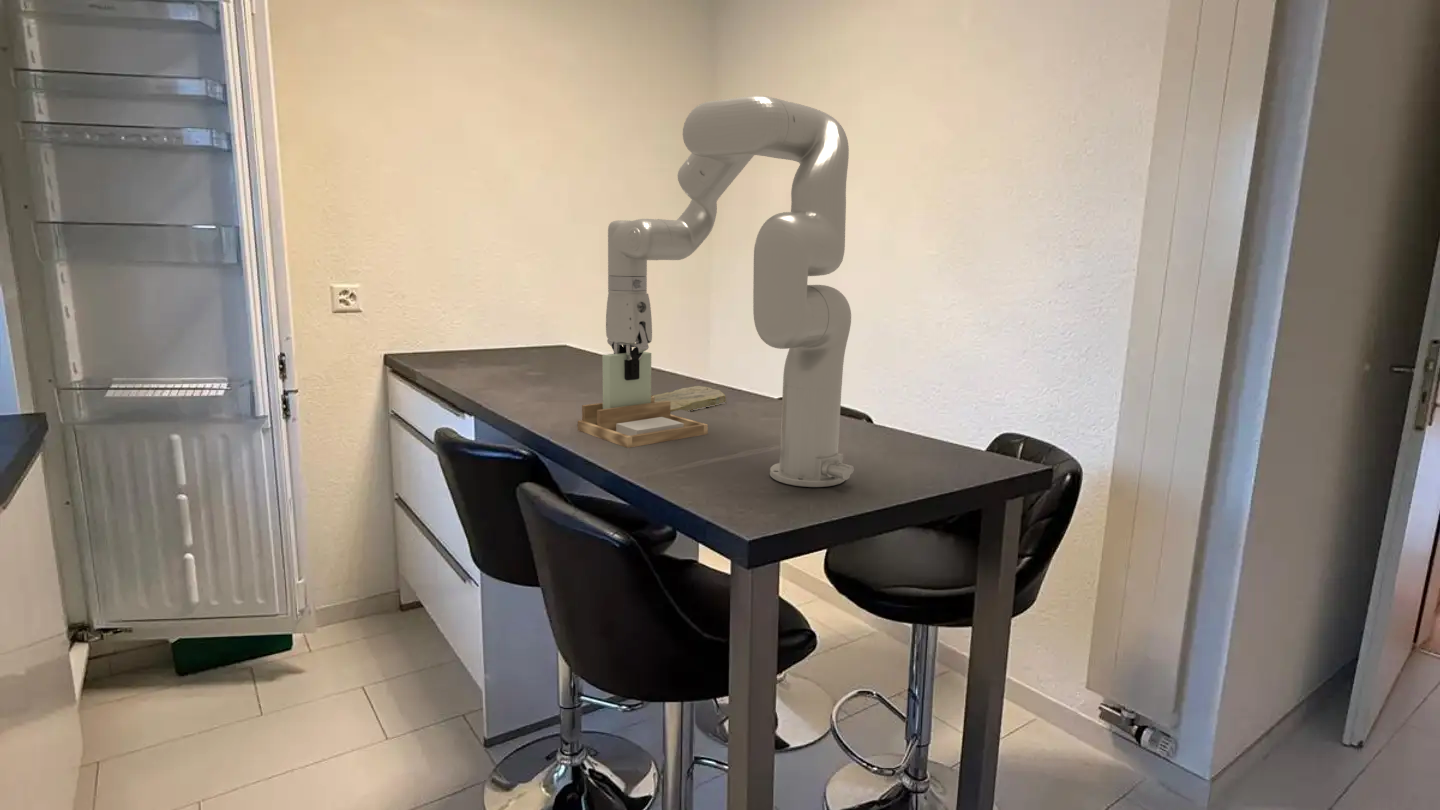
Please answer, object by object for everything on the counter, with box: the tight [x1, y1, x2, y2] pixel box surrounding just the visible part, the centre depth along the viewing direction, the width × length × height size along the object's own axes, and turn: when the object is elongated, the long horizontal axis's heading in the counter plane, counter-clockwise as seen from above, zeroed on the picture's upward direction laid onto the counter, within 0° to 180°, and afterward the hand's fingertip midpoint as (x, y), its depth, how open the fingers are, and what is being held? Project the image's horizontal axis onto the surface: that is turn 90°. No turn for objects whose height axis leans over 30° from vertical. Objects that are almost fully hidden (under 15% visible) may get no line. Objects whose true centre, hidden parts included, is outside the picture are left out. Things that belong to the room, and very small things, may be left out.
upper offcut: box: [616, 417, 684, 436], centre depth 154 cm, size 7×11×2 cm, turn 131°
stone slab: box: [651, 385, 727, 413], centre depth 188 cm, size 12×4×30 cm
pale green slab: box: [601, 351, 652, 409], centre depth 159 cm, size 2×10×16 cm, turn 131°
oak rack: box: [577, 397, 709, 449], centre depth 156 cm, size 17×19×6 cm
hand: (627, 377), depth 158 cm, fingers closed on pale green slab, 2 cm apart
